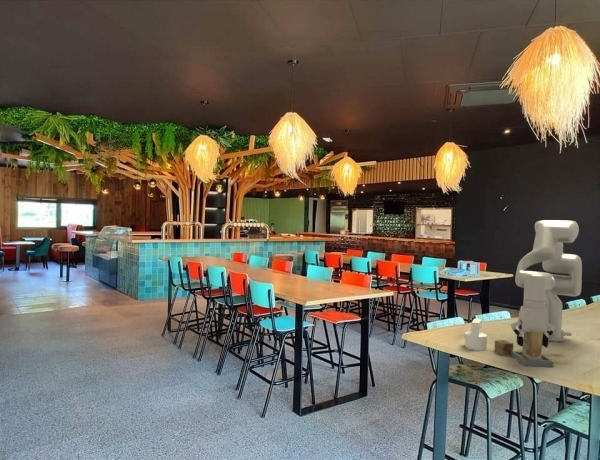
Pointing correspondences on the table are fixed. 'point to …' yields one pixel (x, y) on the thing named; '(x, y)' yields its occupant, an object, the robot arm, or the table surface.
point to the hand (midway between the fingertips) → (532, 345)
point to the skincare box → (532, 344)
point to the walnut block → (503, 347)
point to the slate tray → (526, 361)
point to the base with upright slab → (476, 337)
